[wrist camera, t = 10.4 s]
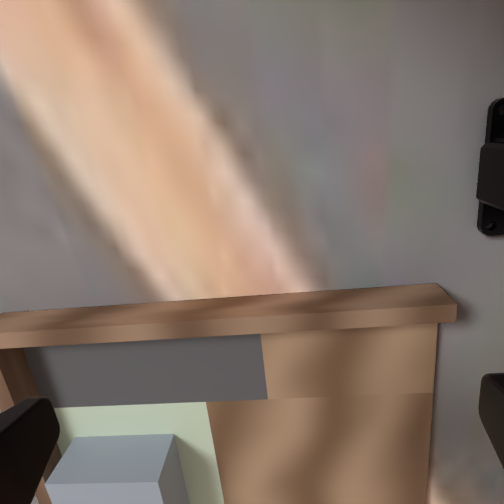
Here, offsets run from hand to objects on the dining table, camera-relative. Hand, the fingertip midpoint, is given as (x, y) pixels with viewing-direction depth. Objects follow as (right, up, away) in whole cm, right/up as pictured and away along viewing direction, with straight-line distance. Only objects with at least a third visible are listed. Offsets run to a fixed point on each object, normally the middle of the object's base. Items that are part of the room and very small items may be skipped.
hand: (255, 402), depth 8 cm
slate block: (-8, -13, +18) cm, 24 cm away
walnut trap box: (-1, -12, +18) cm, 22 cm away
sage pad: (-8, -12, +19) cm, 24 cm away
